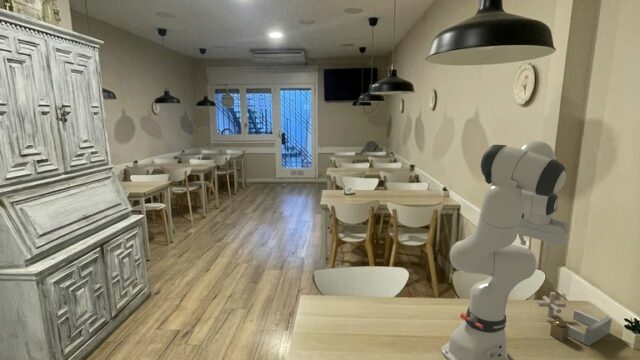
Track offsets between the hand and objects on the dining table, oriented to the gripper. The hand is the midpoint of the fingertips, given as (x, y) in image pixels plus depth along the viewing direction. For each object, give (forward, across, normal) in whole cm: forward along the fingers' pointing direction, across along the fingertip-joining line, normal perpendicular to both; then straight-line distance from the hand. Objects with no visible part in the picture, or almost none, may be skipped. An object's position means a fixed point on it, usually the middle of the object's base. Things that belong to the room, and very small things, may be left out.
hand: (535, 248), depth 141 cm
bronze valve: (+26, -16, +13) cm, 33 cm away
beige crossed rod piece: (+26, -8, +1) cm, 28 cm away
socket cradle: (+26, -19, +2) cm, 32 cm away
